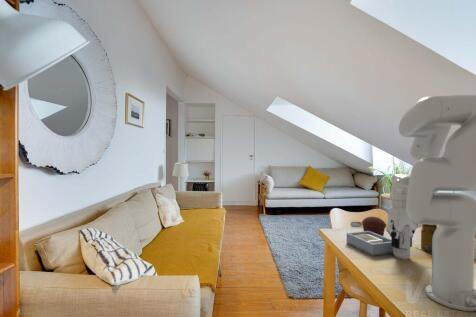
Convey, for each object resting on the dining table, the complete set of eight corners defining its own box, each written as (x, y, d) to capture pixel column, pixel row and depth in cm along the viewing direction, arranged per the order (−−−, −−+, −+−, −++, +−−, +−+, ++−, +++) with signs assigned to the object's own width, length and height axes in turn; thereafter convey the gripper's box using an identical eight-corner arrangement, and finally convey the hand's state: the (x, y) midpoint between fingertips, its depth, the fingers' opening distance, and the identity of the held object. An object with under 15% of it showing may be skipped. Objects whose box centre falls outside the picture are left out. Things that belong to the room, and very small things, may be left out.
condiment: (428, 246, 118) (429, 221, 117) (446, 253, 109) (447, 226, 109) (415, 247, 116) (415, 222, 116) (432, 255, 108) (433, 227, 108)
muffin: (356, 234, 136) (356, 215, 135) (371, 231, 140) (371, 214, 140) (376, 241, 125) (376, 221, 125) (391, 238, 129) (391, 219, 129)
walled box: (396, 253, 110) (397, 241, 110) (372, 256, 106) (372, 244, 106) (368, 240, 125) (368, 230, 125) (346, 243, 122) (346, 233, 122)
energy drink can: (390, 256, 106) (391, 221, 106) (395, 253, 110) (396, 218, 110) (407, 261, 101) (408, 224, 101) (411, 257, 105) (412, 221, 105)
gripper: (409, 201, 111) (409, 241, 112) (378, 203, 106) (377, 245, 107) (426, 204, 104) (426, 247, 104) (393, 206, 99) (393, 252, 100)
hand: (401, 246), depth 106 cm, fingers closed on energy drink can, 6 cm apart
